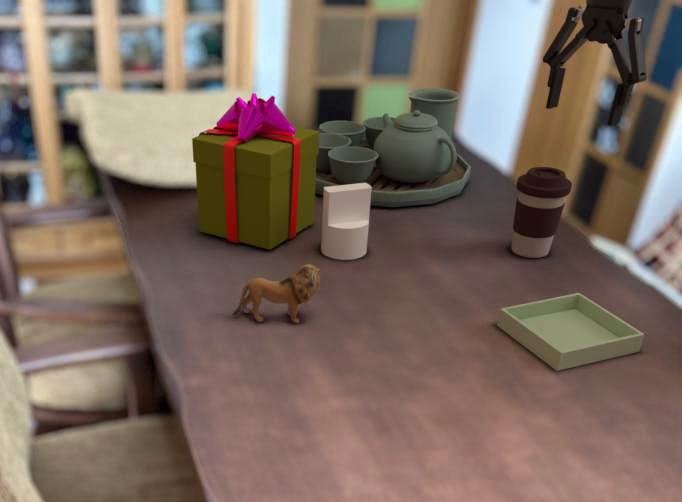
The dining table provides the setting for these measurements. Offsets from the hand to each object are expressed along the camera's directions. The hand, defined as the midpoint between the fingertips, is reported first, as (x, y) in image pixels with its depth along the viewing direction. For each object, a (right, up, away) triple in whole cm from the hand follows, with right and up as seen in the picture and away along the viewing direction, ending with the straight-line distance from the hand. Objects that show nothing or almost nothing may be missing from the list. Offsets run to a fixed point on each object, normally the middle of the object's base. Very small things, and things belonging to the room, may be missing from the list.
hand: (581, 115), depth 153 cm
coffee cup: (-7, -22, +9) cm, 25 cm away
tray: (-9, -46, -18) cm, 50 cm away
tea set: (-32, +5, +40) cm, 51 cm away
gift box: (-61, -16, +16) cm, 65 cm away
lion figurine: (-57, -41, -13) cm, 71 cm away
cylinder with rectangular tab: (-44, -22, +8) cm, 50 cm away
